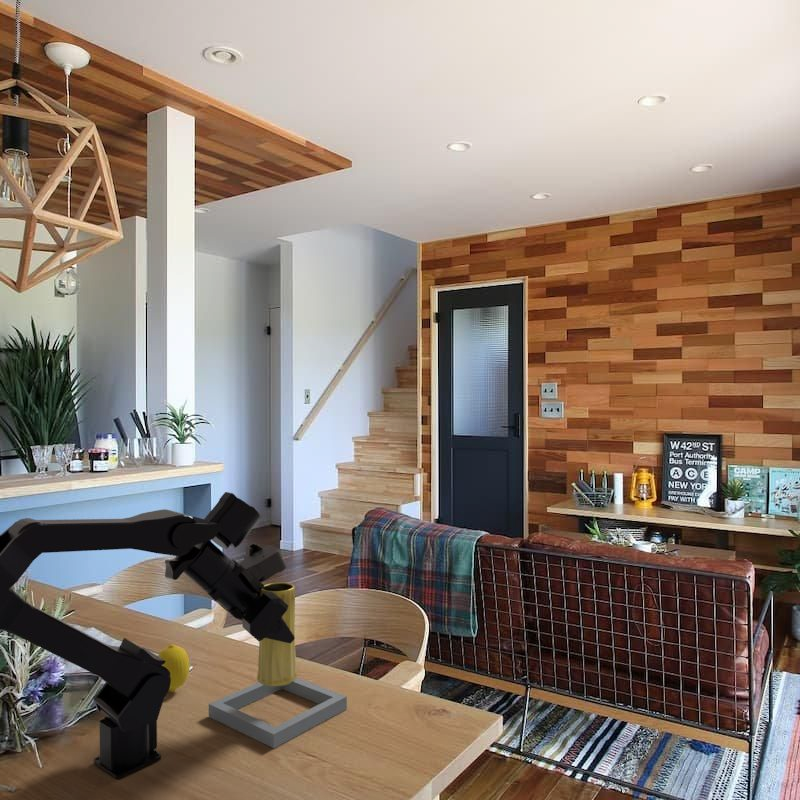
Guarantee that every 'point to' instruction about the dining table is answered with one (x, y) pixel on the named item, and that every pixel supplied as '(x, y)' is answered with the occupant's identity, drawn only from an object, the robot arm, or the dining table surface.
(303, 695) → the stand
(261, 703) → the dining table surface
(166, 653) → the lemon
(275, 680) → the vase
